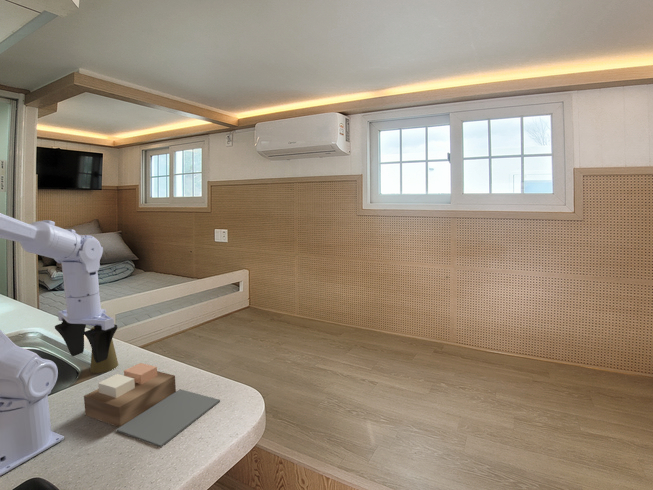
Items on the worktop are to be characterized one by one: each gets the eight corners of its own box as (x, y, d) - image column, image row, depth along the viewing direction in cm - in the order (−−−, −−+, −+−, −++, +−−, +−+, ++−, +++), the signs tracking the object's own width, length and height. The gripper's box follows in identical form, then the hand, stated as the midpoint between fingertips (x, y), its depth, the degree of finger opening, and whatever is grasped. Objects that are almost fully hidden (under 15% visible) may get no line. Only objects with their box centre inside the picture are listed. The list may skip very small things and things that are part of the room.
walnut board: (120, 427, 65) (119, 407, 64) (85, 415, 69) (83, 396, 68) (175, 392, 77) (174, 375, 76) (143, 383, 80) (142, 367, 80)
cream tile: (116, 397, 67) (115, 388, 67) (99, 392, 69) (98, 383, 69) (134, 387, 71) (134, 378, 71) (117, 383, 73) (117, 373, 73)
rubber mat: (161, 447, 59) (161, 445, 59) (116, 431, 64) (116, 429, 64) (220, 401, 73) (220, 399, 73) (180, 390, 77) (180, 389, 77)
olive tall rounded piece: (121, 360, 92) (117, 320, 91) (115, 371, 87) (111, 328, 85) (94, 364, 90) (91, 323, 89) (86, 375, 85) (82, 331, 83)
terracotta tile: (141, 384, 72) (140, 375, 72) (124, 379, 74) (123, 370, 74) (157, 375, 76) (156, 366, 76) (140, 371, 78) (140, 362, 78)
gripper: (125, 292, 72) (131, 355, 74) (79, 285, 77) (86, 344, 79) (91, 302, 65) (98, 370, 67) (43, 293, 71) (51, 357, 73)
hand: (89, 357), depth 73 cm, fingers open, 7 cm apart
